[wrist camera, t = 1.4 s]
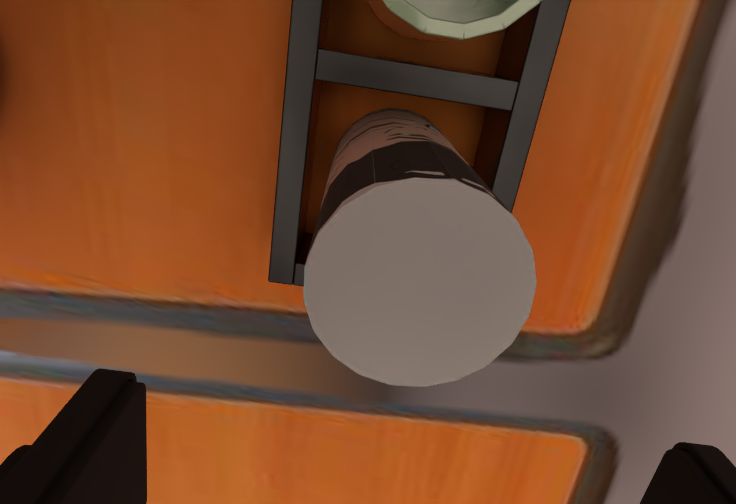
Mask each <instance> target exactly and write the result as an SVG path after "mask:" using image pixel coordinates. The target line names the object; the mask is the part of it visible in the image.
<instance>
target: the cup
mask: <svg viewBox="0 0 736 504" xmlns="http://www.w3.org/2000/svg"><path fill="white" fill-rule="evenodd" d="M536 285H537V280H536V272H535V264H534V255H533V250H532V248H531V246H530V244H529V242H528V240H527V238H526V236H525V234H524V232H523V231H522V229H521V227H520V225H519V223H518V221H517V219H516V218H515V217H514V216H513V215H512V214H511V212H510V211H509V210H508V209H507V208H506V207H505V206H504V204H503V203H502V202H501V201H500V200H499V199H498V197H497V196H496V195H495V194H494V193H493V192H492V190H491V189H490V188H489V187H488V186H487V185H486V184H485V182H484V181H483V180H482V179H481V178H480V177H479V175H478V174H477V173H476V172H475V171H474V170H473V169H472V167H471V166H470V165H469V164H468V163H467V162H466V160H465V159H464V158H463V157H462V156H461V155H460V153H459V152H458V151H457V150H456V149H455V148H454V147H453V145H452V144H451V143H450V142H449V141H448V140H447V138H446V137H445V136H444V135H443V134H442V133H441V132H440V130H439V129H437V128H436V127H435V126H434V125H433V124H432V123H431V122H430V121H429V120H428V119H426V118H425V117H423V116H421V115H418V114H416V113H414V112H411V111H409V110H401V109H389V108H388V109H384V110H380V111H376V112H372V113H369V114H367V115H366V116H364V117H363V118H361V119H360V120H358V121H356V122H355V123H353V124H352V126H351V127H350V128H349V129H348V130H347V132H346V133H345V134H344V135H343V136H342V138H341V139H340V142H339V145H338V147H337V150H336V152H335V155H334V158H333V162H332V166H331V169H330V173H329V177H328V181H327V184H326V188H325V192H324V196H323V200H322V203H321V207H320V211H319V215H318V218H317V222H316V226H315V230H314V234H313V237H312V241H311V245H310V249H309V252H308V256H307V260H306V264H305V268H304V299H303V301H304V304H305V307H306V310H307V313H308V316H309V319H310V322H311V325H312V328H313V331H314V332H315V333H316V335H317V336H318V337H319V339H320V340H321V341H322V343H323V344H324V345H325V347H326V348H327V349H328V350H329V352H330V353H331V354H332V355H333V357H335V358H336V359H338V360H339V361H341V362H342V363H344V364H345V365H346V366H348V367H349V368H351V369H352V370H354V371H355V372H356V373H358V374H359V375H363V376H365V377H368V378H371V379H374V380H378V381H380V382H383V383H386V384H389V385H400V386H416V387H426V386H431V385H436V384H441V383H446V382H451V381H456V380H458V379H460V378H463V377H464V376H467V375H468V374H471V373H473V372H475V371H477V370H479V369H481V368H483V367H485V366H487V365H488V364H489V363H490V362H492V361H493V360H494V359H495V358H496V357H497V356H498V355H499V354H501V353H502V352H503V351H504V350H505V349H506V348H507V347H509V346H510V345H511V344H512V343H513V341H514V339H515V338H516V336H517V335H518V333H519V331H520V330H521V328H522V326H523V325H524V323H525V322H526V320H527V318H528V317H529V315H530V310H531V306H532V302H533V298H534V293H535V289H536Z"/></svg>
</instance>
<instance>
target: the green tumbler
mask: <svg viewBox="0 0 736 504" xmlns="http://www.w3.org/2000/svg"><path fill="white" fill-rule="evenodd" d="M540 1H542V0H367V2H368V3H369V5H370V7H371V9H372V10H373V12H374V13H375V14H376V16H377V17H378V18H379V20H381V22H382V23H384V24H385V25H387V26H388V27H389V28H390V29H392V30H394V31H395V32H397V33H399V34H400V35H402V36H404V37H409V38H414V39H421V40H427V41H438V40H466V39H470V38H474V37H478V36H481V35H485V34H489V33H493V32H497V31H501V30H503V29H505V28H507V27H508V26H510V25H511V24H512V23H514V22H515V21H516V20H518V19H519V18H520V17H522V16H523V15H524V14H526V13H527V12H528V11H530V10H531V9H532V8H534V7H535V6H536V5H538V4H539V3H540Z"/></svg>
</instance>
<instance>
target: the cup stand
mask: <svg viewBox="0 0 736 504" xmlns="http://www.w3.org/2000/svg"><path fill="white" fill-rule="evenodd" d="M330 2H331V0H292V6H291V18H290V30H289V41H288V53H287V65H286V77H285V89H284V100H283V112H282V124H281V136H280V148H279V159H278V171H277V183H276V195H275V207H274V218H273V230H272V242H271V254H270V266H269V277H268V281H269V282H276V283H283V284H290V285H292V284H293V285H297V286H304V268H305V264H306V260H307V256H308V252H309V249H310V245H311V241H312V237H313V234H312V233H305V226H306V217H307V208H308V199H309V190H310V181H311V172H312V163H313V154H314V145H315V136H316V127H317V118H318V109H319V100H320V92H321V83H322V81H327V82H334V83H340V84H346V85H352V86H358V87H365V88H371V89H377V90H383V91H389V92H396V93H402V94H408V95H414V96H420V97H427V98H433V99H439V100H445V101H451V102H458V103H464V104H470V105H476V106H482V107H488V108H487V112H486V116H485V121H484V125H483V129H482V133H481V137H480V142H479V146H478V150H477V154H476V158H475V162H474V167H473V170H474V171H475V172H476V173H477V174H478V175H479V177H480V178H481V179H482V180H483V181H484V182H485V184H486V185H487V186H488V187H489V188H490V189H491V190H492V192H493V193H494V194H495V195H496V196H497V197H498V199H499V200H500V201H501V202H502V203H503V204H504V206H505V207H506V208H507V209H508V210H509V211H510V212H511V213H512V210H513V206H514V202H515V199H516V195H517V192H518V188H519V185H520V181H521V177H522V174H523V170H524V167H525V163H526V159H527V156H528V152H529V149H530V145H531V142H532V138H533V134H534V131H535V127H536V124H537V120H538V116H539V113H540V109H541V106H542V102H543V99H544V95H545V91H546V88H547V84H548V81H549V77H550V74H551V70H552V66H553V63H554V59H555V56H556V52H557V48H558V45H559V41H560V38H561V34H562V31H563V27H564V23H565V20H566V16H567V13H568V9H569V5H570V2H571V0H542V1H540V3H539V4H538V5H536V6H535V7H534V8H532V9H531V10H530V11H528V12H527V13H526V14H524V15H523V16H522V17H520V18H519V19H518V20H516V21H515V22H514V23H512V24H511V25H510V26H508V27H507V29H506V33H505V37H504V41H503V45H502V50H501V54H500V58H499V62H498V66H497V70H496V75H490V74H484V73H478V72H472V71H466V70H460V69H454V68H448V67H442V66H435V65H429V64H423V63H417V62H411V61H405V60H399V59H393V58H387V57H381V56H375V55H369V54H363V53H357V52H351V51H345V50H339V49H333V48H327V47H326V38H327V29H328V20H329V11H330ZM325 47H326V48H325Z"/></svg>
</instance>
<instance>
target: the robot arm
mask: <svg viewBox="0 0 736 504" xmlns="http://www.w3.org/2000/svg"><path fill="white" fill-rule="evenodd" d="M146 502H147V448H146V386H145V384H144V383H140V382H137V381H136V376H135V374H134V373H131V372H123V371H115V370H108V369H97V370H95V371H94V372H93V373H92V374H91V375H90V377H89V378H88V379H87V380H86V381H85V383H84V384H83V385H82V386H81V387H80V388H79V390H78V391H77V392H76V393H75V394H74V396H73V397H72V398H71V399H70V400H69V402H68V403H67V404H66V405H65V406H64V407H63V409H62V410H61V411H60V412H59V413H58V415H57V416H56V417H55V418H54V419H53V421H52V422H51V423H50V424H49V425H48V426H47V428H46V429H45V430H44V431H43V432H42V434H41V435H40V436H39V437H38V438H37V439H36V441H35V442H34V443H33V444H32V445H23V446H21V447H19V448H17V449H16V450H15V451H14V452H12V453H11V454H10V455H9V456H8V457H7V458H6V459H5V461H4V462H3V463H2V464H1V465H0V504H146ZM640 504H736V467H735V466H734V465H733V464H732V463H731V462H730V460H729V459H728V458H727V457H726V456H725V455H724V454H723V453H722V452H721V451H720V450H719V449H718V448H716V447H713V446H709V445H701V444H693V443H685V442H680V443H677V444H676V445H675V446H674V447H673V448H672V449H671V450H668V451H666V453H665V454H664V456H663V458H662V460H661V462H660V464H659V466H658V468H657V470H656V472H655V474H654V476H653V478H652V480H651V482H650V484H649V486H648V488H647V490H646V492H645V494H644V496H643V498H642V500H641V502H640Z"/></svg>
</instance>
